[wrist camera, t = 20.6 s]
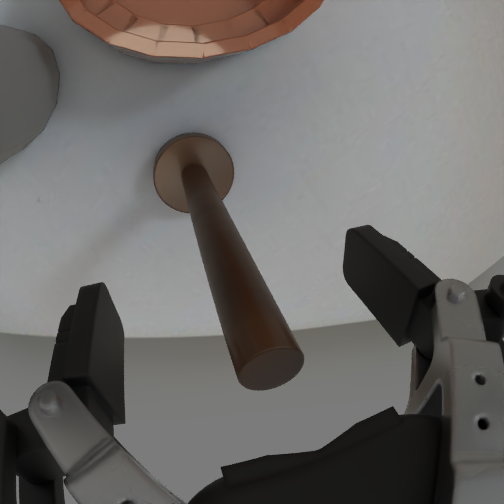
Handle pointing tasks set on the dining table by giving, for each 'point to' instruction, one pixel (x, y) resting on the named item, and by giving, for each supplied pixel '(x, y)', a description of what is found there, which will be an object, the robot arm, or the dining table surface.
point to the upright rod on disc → (228, 261)
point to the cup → (24, 89)
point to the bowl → (188, 25)
